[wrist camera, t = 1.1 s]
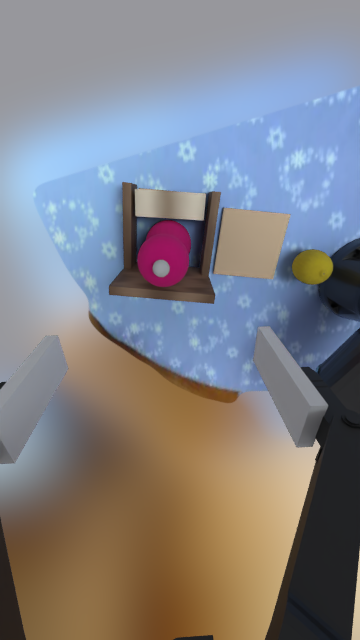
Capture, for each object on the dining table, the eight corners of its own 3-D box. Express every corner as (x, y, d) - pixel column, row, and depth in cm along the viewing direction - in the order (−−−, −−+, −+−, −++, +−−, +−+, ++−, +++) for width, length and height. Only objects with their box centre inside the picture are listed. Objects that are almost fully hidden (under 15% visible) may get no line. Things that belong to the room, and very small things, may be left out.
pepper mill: (148, 259, 43) (125, 301, 26) (149, 216, 40) (123, 229, 22) (188, 262, 44) (192, 306, 26) (192, 220, 40) (200, 236, 23)
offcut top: (204, 194, 36) (206, 193, 34) (201, 219, 38) (203, 220, 35) (138, 189, 36) (134, 188, 33) (138, 215, 38) (135, 216, 35)
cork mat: (288, 214, 40) (290, 214, 39) (271, 277, 45) (272, 279, 44) (223, 207, 39) (224, 207, 39) (213, 272, 44) (213, 273, 44)
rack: (216, 193, 38) (232, 189, 26) (204, 274, 45) (213, 303, 32) (129, 184, 38) (103, 176, 26) (129, 267, 44) (109, 294, 32)
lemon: (280, 273, 44) (299, 287, 37) (292, 243, 42) (314, 251, 35) (308, 278, 45) (332, 293, 38) (321, 249, 42) (350, 259, 35)
